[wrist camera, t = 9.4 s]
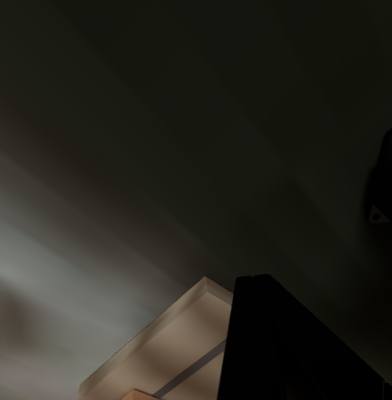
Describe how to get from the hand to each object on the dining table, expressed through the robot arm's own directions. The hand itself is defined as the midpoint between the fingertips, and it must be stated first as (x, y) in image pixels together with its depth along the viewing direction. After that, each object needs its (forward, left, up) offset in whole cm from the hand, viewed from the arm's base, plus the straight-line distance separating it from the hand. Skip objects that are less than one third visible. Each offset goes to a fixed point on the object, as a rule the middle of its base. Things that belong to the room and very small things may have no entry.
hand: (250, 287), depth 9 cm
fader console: (+2, +20, -12) cm, 24 cm away
